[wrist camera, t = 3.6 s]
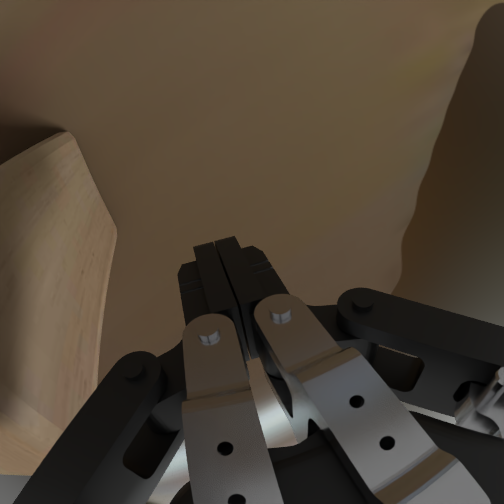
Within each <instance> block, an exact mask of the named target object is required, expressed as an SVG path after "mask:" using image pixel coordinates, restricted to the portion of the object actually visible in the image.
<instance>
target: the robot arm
mask: <svg viewBox="0 0 504 504" xmlns="http://www.w3.org/2000/svg"><path fill="white" fill-rule="evenodd" d="M214 242H215V246H214V243H213V242H210V243H206V244H202V245H198V246H195V247H193V249H194V253H195V257H196V261H193V262H190V263H186V264H182V266H181V268H180V270H179V272H178V281H179V287H180V293H181V300H182V306H183V312H184V318H185V323H186V327H185V329H184V331H183V336H182V340H181V341H180V343H179V344H178V345H177V346H175V347H174V348H173V349H171V350H170V351H168V352H166V353H164V354H162V355H161V356H159V357H156V356H154V355H153V354H151V353H149V352H145V351H137V352H132V353H129V354H127V355H125V356H124V357H122V358H121V359H120V360H118V361H117V363H116V364H115V365H114V366H113V367H112V369H111V370H110V371H109V373H108V374H107V375H106V376H105V378H104V379H103V380H102V382H101V383H100V384H99V385H98V387H97V388H96V389H95V391H94V392H93V393H92V395H91V396H90V397H89V398H88V400H87V401H86V402H85V404H84V405H83V406H82V408H81V409H80V410H79V412H78V413H77V414H76V416H75V417H74V418H73V420H72V421H71V422H70V424H69V425H68V426H67V428H66V429H65V430H64V432H63V433H62V434H61V436H60V437H59V439H58V440H57V441H56V443H55V444H54V445H53V447H52V448H51V450H50V451H49V452H48V454H47V455H46V457H45V458H44V459H43V461H42V462H41V464H40V465H39V466H38V468H37V469H36V471H35V472H34V473H33V475H32V476H31V478H30V479H29V481H28V482H27V484H26V485H25V486H24V488H23V489H22V491H21V493H20V494H19V495H18V497H17V498H16V500H15V501H14V503H13V504H146V502H147V501H148V499H149V497H150V496H151V494H152V492H153V491H154V489H155V487H156V486H157V484H158V482H159V481H160V479H161V478H162V476H163V474H164V473H165V471H166V469H167V468H168V466H169V464H170V462H171V461H172V459H173V457H174V456H175V454H176V452H177V451H178V449H179V447H180V446H181V444H182V442H183V440H184V439H185V447H186V455H187V463H188V470H189V477H190V481H189V482H188V483H186V484H185V485H184V486H183V487H182V488H181V489H180V490H179V491H178V492H177V494H176V495H175V496H174V498H173V499H172V501H171V502H170V504H504V327H502V326H499V325H495V324H492V323H488V322H485V321H481V320H477V319H474V318H470V317H467V316H463V315H460V314H456V313H452V312H449V311H445V310H442V309H439V308H435V307H431V306H428V305H424V304H421V303H418V302H414V301H410V300H407V299H404V298H400V297H396V296H393V295H390V294H386V293H383V292H379V291H376V290H372V289H368V288H354V289H350V290H348V291H346V292H344V293H343V294H342V295H341V296H340V297H339V299H338V302H337V305H326V306H309V305H306V304H305V303H304V302H303V301H302V300H301V299H300V298H298V297H296V296H293V295H290V294H289V292H288V291H287V289H286V287H285V286H284V284H283V283H282V281H281V279H280V278H279V276H278V275H277V273H276V272H275V270H274V269H273V267H272V265H271V264H270V262H269V261H268V259H267V257H266V256H265V254H264V253H263V251H261V250H259V249H258V248H256V247H254V246H249V247H245V248H242V249H241V247H240V245H239V243H238V241H237V240H236V238H235V236H232V237H229V238H225V239H221V240H217V241H214ZM379 345H383V346H385V347H389V348H392V349H395V350H398V351H401V352H404V353H407V354H411V355H414V356H417V357H418V358H415V357H410V356H407V355H404V354H401V353H398V352H394V351H392V350H388V349H385V348H382V347H379ZM247 348H248V350H247ZM248 351H249V353H250V356H251V359H254V358H258V357H260V360H261V362H262V365H263V368H264V373H265V377H266V379H267V381H268V383H269V385H270V387H271V389H272V391H273V393H274V394H275V396H276V398H277V400H278V402H279V404H280V406H281V407H282V409H283V411H284V413H285V415H286V417H287V418H288V420H289V422H290V424H291V426H292V429H293V432H294V435H295V438H296V440H297V442H298V444H297V445H294V446H288V447H279V448H268V449H267V445H266V442H265V438H264V435H263V431H262V428H261V424H260V421H259V417H258V413H257V410H256V406H255V402H254V399H253V395H252V391H251V387H250V384H249V372H248V368H247V364H246V361H248V360H250V359H249V355H248ZM401 401H402V402H405V403H409V404H412V405H415V406H418V407H422V408H425V409H428V410H431V411H435V412H438V413H441V414H445V415H449V416H452V417H455V420H456V425H454V424H451V423H448V422H444V421H441V420H438V419H435V418H432V417H429V416H426V415H423V414H420V413H417V412H413V411H408V410H407V409H406V407H405V406H404V405H403V404H402V403H401Z"/></svg>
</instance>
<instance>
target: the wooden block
mask: <svg viewBox="0 0 504 504" xmlns="http://www.w3.org/2000/svg"><path fill="white" fill-rule="evenodd" d="M116 239H117V228H116V226H115V224H114V222H113V220H112V218H111V216H110V214H109V212H108V210H107V208H106V206H105V204H104V202H103V200H102V198H101V196H100V193H99V191H98V189H97V187H96V185H95V183H94V181H93V178H92V176H91V174H90V172H89V170H88V167H87V165H86V163H85V161H84V158H83V156H82V154H81V151H80V149H79V147H78V144H77V142H76V139H75V138H74V137H73V136H72V135H71V134H70V133H69V132H68V131H67V132H59V133H57V134H55V135H53V136H51V137H49V138H47V139H45V140H43V141H41V142H39V143H37V144H36V145H34V146H32V147H30V148H28V149H27V150H25V151H23V152H21V153H20V154H18V155H16V156H14V157H13V158H11V159H10V160H8V161H6V162H5V163H3V164H1V165H0V474H7V475H8V474H9V475H33V473H34V472H35V471H36V469H37V468H38V466H39V465H40V464H41V462H42V461H43V459H44V458H45V457H46V455H47V454H48V452H49V451H50V450H51V448H52V447H53V445H54V444H55V443H56V441H57V440H58V439H59V437H60V436H61V434H62V433H63V432H64V430H65V429H66V428H67V426H68V425H69V424H70V422H71V421H72V420H73V418H74V417H75V416H76V414H77V413H78V412H79V410H80V409H81V408H82V406H83V405H84V404H85V402H86V401H87V400H88V398H89V397H90V396H91V395H92V393H93V392H94V391H95V389H96V388H97V376H98V362H99V350H100V340H101V331H102V322H103V314H104V307H105V300H106V293H107V287H108V281H109V275H110V269H111V264H112V259H113V254H114V249H115V244H116Z"/></svg>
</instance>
